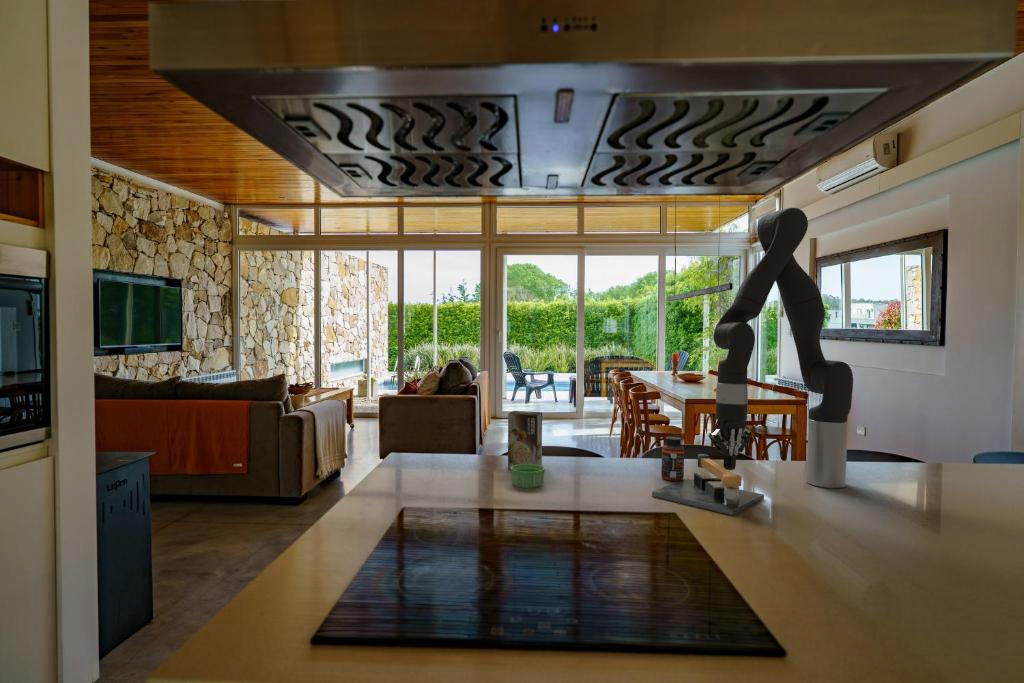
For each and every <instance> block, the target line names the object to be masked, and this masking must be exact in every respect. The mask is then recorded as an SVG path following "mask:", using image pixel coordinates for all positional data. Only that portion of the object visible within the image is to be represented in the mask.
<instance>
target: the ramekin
mask: <svg viewBox="0 0 1024 683" xmlns="http://www.w3.org/2000/svg"><path fill="white" fill-rule="evenodd" d="M545 471H546V467H545V466H543V465H542V466H541V465H536V464H517V465H513V466H511V469H510V472H511V484H512V485H513V486H514V487H517V488H523V489H533V488H540V487H542V486H543V485H544V477H545Z"/></svg>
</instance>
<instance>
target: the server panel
mask: <svg viewBox="0 0 1024 683" xmlns="http://www.w3.org/2000/svg"><path fill="white" fill-rule="evenodd" d="M651 497H653V498H658V499H660V500H661V499H662V500H666V501H670V502H675V503H679V504H683V505H687V506H691V507H695V508H700V509H703V510H708V511H712V512H715V513H721V514H724V515H728V516H734V515H736V514H738V513H740V512H742V511H744V510H746V509H748V508H749V507H752V506H754V505H756V504H757V503H759V502H762V501H763V500H765V494H763V493H760V492H759V493H758V492H754V491H749V490H744V489H740V486H739V487H731V486H726V485H723V481H722V480H721V479H719V478H718V477H716V476H715V475H713V474H712V473H711V472H695V473H694V472H693V479H692V478H691V479H690V478H686V479H683V480H681V481H676V482H675V483H671V484H669V485H667V486H663V487H661V488H657V489H655V490H652V492H651Z"/></svg>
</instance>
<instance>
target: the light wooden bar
mask: <svg viewBox="0 0 1024 683" xmlns="http://www.w3.org/2000/svg"><path fill="white" fill-rule="evenodd" d="M697 467H698V468H700V469H701V468H702V469H705V470H706V471H708V473H712V474H713V475H715V476H716V477H718V478H719V479H721V480H722V482H723V485H726V486H731V487H739V488H740V487H742V475H740V474H736V473H733V472H731V470H727V469H725V468H724V466H722V465H721V464H719V463H717V462H715V461H714V460H712V459H711V458H710V455H708V454H706V453H699V454H697Z"/></svg>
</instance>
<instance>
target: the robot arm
mask: <svg viewBox="0 0 1024 683" xmlns="http://www.w3.org/2000/svg"><path fill="white" fill-rule="evenodd" d="M756 227H757V228H756V231H757V237H758V240H759V243H760V246H761V247H762V250H763V252H764V253H765V254H764V255H763V257H762V258H761V259H760V260H759V262H758V263H756V265H755V266H754V267H753V268H752V269H751V271H750V272H749V273H748V274H747V275H746V277H745V278H744V279H743V281H742V283H741V285H740V286H739V289H738V290H737V291H738V292H737V293H736V295H735V298H734V300H733V302H732V304H730V306H729V307H728V309H727V310H725V312H724V314H723V315H722V317H720V319H719V320H718V322H717V324H716V326H715V327H714V330H713V337H712V338H713V342H714V344H715V345H716V346H717V347H718V348H719V349H722V350H725V351H727V350H728V351H727V355H726V358H725V359H722V360H720V361H719V362H718V364H717V385H716V392H715V419H716V420H717V424H716V426H715V428H716V429H715V430H714V432H710V433H709V434H708V438H709V439H710V441H711V442H712V444H713V446H714V447H715V449H716V451H717V452H718V453H722V454H723V461H722V462H723V463H722V464H723V468H725V469H727V470H728V471H734V470H736V466H737V456H738V454H739V453H742V452H743V451H744V449H745V448H746V446H747V444H748V442H750V440H751V438H752V435H753V433H752V431H749V430H747V428H746V424H745V422H746V421H747V420H748V406H749V405H748V400H749V390H748V368H749V364H750V362H751V358H752V354H753V351H754V349H755V343H756V335H755V332H754V329H753V327H752V326H751V325H750V324H749V323H748V322H749V321H752V320H754V319H756V318H758V317H759V315H760V314H761V313H762V310H763V308H764V305H765V303H766V302H767V299H768V297H769V294H770V292H771V291H772V289H773V286H774V285H775V283H776V285H777V286H776V287H777V289H778V291H779V295H780V299H781V302H782V306H783V308H784V309H783V310H784V312H785V315H786V318H787V321H788V323H789V326H790V331H791V333H792V337H793V342H794V345H795V348H796V353H797V357H798V364H799V368H800V373H801V378H802V381H803V384H804V386H805V387H806V388H807V389H808V390H809V391H810V392H811V393H815V394H820V395H822V398H821V402H820V404H817V405H816V406H813V407H810V408H809V409H808V415H807V418H808V420H807V425H808V426H807V453H806V454H807V455H806V456H807V457H806V458H807V459H806V483H808V484H810V485H813V486H816V487H821V488H827V489H842V488H845V487H846V481H847V480H846V479H847V478H846V477H847V475H846V474H847V449H848V446H847V444H848V441H847V440H848V417H849V414H850V412H851V410H852V399H853V391H854V390H853V389H854V375H853V374H854V373H853V371H852V369H851V367H850V365H849V364H847V363H846V362H844V361H840V360H828V359H826V358H825V356H824V353H823V349H822V347H821V340H820V339H821V332H822V328H823V325H824V322H825V317H826V310H825V305H824V302H823V298H822V296H821V291H820V288H819V287H818V285H817V284H816V282H815V281H814V280H813V279H812V277H811V276H810V275H809V273H808V272H806V271H805V270H804V269H803V268H802V267H801V264H799V263H798V261H797V259H796V258H795V256H794V253H795V252H796V250H797V248H798V247H799V246H800V244H801V242H802V241H803V239H804V237H806V235H807V232H808V229H809V228H808V227H809V221H808V217H807V215H806V213H805V212H804V210H802V209H800V208H797V207H788V208H782V209H778V210H775V211H771V212H767V213H765V214H763V215H762V216H761V217H760V218H759V219H758V222H757V226H756Z"/></svg>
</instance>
